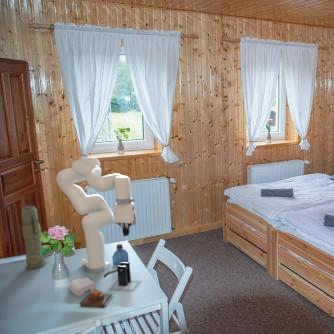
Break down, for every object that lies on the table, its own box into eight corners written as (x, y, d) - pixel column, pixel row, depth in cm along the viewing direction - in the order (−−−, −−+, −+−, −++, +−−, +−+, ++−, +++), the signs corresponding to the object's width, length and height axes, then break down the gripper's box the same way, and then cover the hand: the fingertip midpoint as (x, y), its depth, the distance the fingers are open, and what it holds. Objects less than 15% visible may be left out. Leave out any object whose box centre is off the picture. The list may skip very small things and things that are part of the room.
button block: (80, 306, 178) (79, 299, 177) (90, 296, 187) (89, 288, 186) (103, 308, 177) (102, 300, 176) (112, 297, 186) (111, 290, 185)
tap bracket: (109, 289, 193) (107, 267, 190) (117, 280, 202) (115, 259, 199) (132, 290, 192) (131, 269, 189) (139, 281, 200) (138, 260, 198)
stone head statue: (36, 270, 213) (28, 210, 206) (22, 266, 218) (13, 207, 211) (50, 264, 221) (43, 205, 213) (36, 260, 226) (29, 203, 218)
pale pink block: (81, 281, 201) (96, 290, 192) (64, 288, 194) (78, 298, 185) (80, 273, 200) (95, 282, 191) (63, 279, 193) (77, 289, 184)
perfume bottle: (123, 267, 216) (121, 247, 213) (113, 267, 217) (111, 247, 214) (128, 263, 222) (127, 243, 219) (118, 262, 223) (117, 242, 220)
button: (90, 297, 179) (89, 293, 179) (94, 293, 183) (93, 289, 183) (97, 297, 179) (97, 294, 179) (101, 293, 183) (101, 290, 182)
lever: (104, 278, 194) (102, 274, 194) (109, 274, 199) (107, 270, 199) (124, 271, 192) (122, 266, 192) (129, 266, 197) (126, 262, 197)
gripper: (140, 198, 196) (143, 232, 200) (112, 198, 198) (115, 231, 202) (135, 203, 189) (137, 238, 193) (106, 202, 191) (109, 237, 194)
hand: (126, 235), depth 197 cm, fingers closed
